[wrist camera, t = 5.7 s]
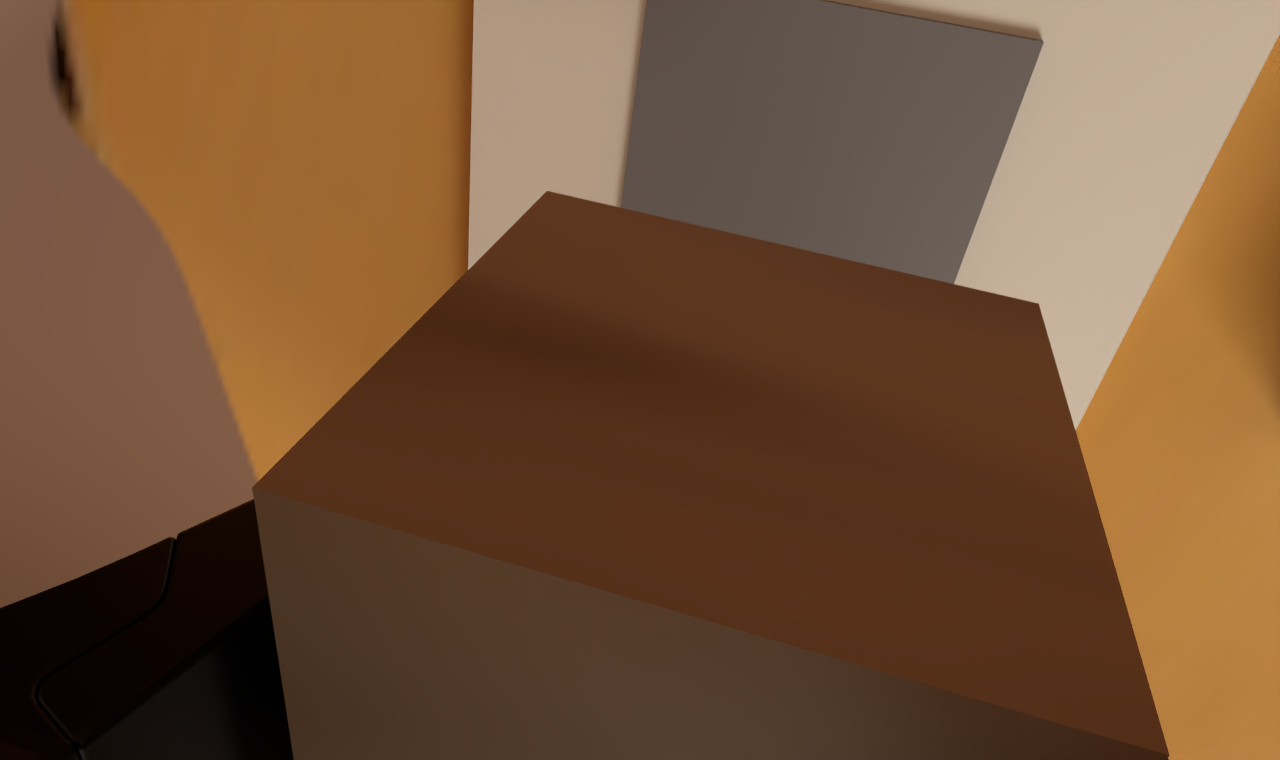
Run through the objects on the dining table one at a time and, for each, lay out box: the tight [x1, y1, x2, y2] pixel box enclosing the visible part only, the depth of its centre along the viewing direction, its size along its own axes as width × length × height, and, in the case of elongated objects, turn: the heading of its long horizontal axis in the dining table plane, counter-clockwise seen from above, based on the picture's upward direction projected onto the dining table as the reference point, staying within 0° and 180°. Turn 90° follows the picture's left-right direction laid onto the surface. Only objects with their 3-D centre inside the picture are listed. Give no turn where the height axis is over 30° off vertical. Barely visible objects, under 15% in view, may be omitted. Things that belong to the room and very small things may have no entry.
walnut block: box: [252, 191, 1169, 760], centre depth 8 cm, size 5×5×5 cm
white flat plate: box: [468, 0, 1280, 431], centre depth 18 cm, size 12×14×1 cm
